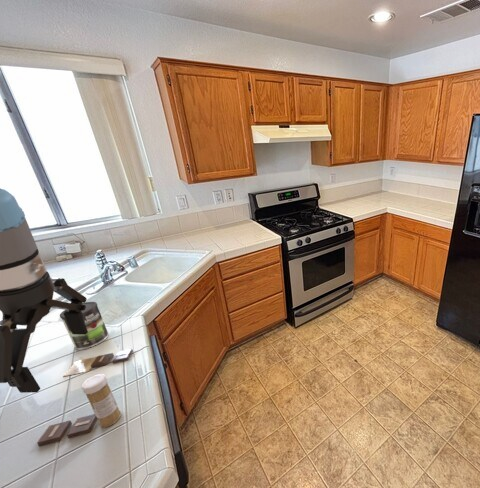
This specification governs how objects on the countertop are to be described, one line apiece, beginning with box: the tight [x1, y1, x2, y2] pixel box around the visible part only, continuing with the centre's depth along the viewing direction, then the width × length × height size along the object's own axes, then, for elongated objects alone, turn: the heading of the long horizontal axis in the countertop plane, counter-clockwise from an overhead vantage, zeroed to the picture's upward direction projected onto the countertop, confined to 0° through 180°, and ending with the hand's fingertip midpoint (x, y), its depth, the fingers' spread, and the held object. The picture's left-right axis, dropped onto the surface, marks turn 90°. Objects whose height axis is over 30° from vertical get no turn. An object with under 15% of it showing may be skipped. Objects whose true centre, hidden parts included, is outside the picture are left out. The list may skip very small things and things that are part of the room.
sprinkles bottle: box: [81, 373, 122, 428], centre depth 66 cm, size 5×5×14 cm
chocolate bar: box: [62, 348, 134, 378], centre depth 89 cm, size 18×7×1 cm, turn 106°
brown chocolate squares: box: [36, 413, 98, 447], centre depth 66 cm, size 10×4×1 cm, turn 106°
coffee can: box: [59, 301, 110, 351], centre depth 98 cm, size 10×10×14 cm
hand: (58, 358), depth 55 cm, fingers open, 13 cm apart
